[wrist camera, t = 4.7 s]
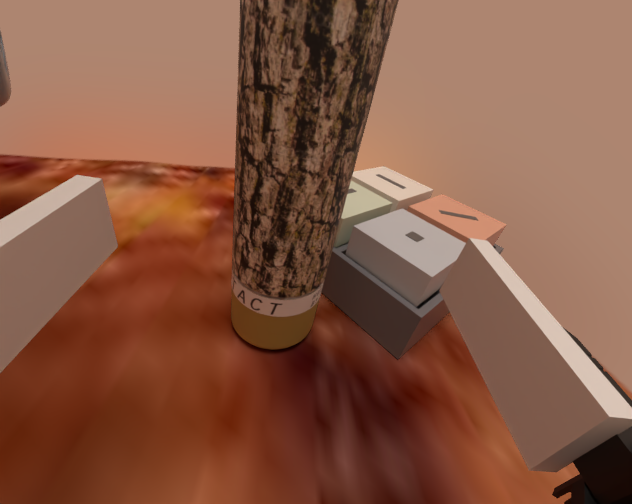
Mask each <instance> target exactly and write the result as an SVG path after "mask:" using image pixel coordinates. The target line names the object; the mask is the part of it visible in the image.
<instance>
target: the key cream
mask: <svg viewBox="0 0 632 504" xmlns="http://www.w3.org/2000/svg"><path fill="white" fill-rule="evenodd" d="M351 181H353V182H355V183H357V184H359V185H361V186H362V187H364V188H366V189H368V190H370V191H372V192H373V193H375V194H377V195H379V196H381V197H382V198H384V199H386V200H388V201H390V202H392V206H391V209H390V212H389V213H391V212H394V211H396V210H399V209H402V208H403V209H404V210H406V211H407V209H408V207H409V206H410V205H413V204H416V203H419V202H422V201H425V200H427V199H430V197H431V195H432V192H433V189H431V188H429V187H426V186H424V185H422V184H420V183H418V182H416V181H414V180H412V179H409V178H407V177H405V176H403V175H401V174H399V173H397V172H395V171H393V170H391V169H389V168H387V167H384V166H383V167H377V168H372V169H366V170H360V171H355V172H353V175H352V178H351Z"/></svg>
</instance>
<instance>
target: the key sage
mask: <svg viewBox="0 0 632 504" xmlns="http://www.w3.org/2000/svg"><path fill="white" fill-rule="evenodd" d="M391 206H392V202H390V201H388V200H386V199H384V198H382V197H381V196H379V195H377V194H375V193H373V192H372V191H370V190H368V189H366V188H364V187H362V186H361V185H359V184H357V183H355V182H353V181H351V182H350V186H349V190H348V193H347V197H346V201H345V205H344V209H343V212H342V216H341V220H340V224H339V228H338V231H337V235H336V239H335V243H334V247H335V248H336V247H338V246H341V245H343V244H346V243H348V242H349V239H350V236H351V233H352V229H353V226H354V225H357V224H360V223H363V222H365V221H368V220H371V219H374V218H377V217H380V216H382V215H385V214H388V213H389V212H390V209H391Z"/></svg>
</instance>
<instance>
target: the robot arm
mask: <svg viewBox="0 0 632 504" xmlns="http://www.w3.org/2000/svg"><path fill="white" fill-rule="evenodd" d="M10 95H11V84H10V78H9V72H8V66H7V61H6V56H5V51H4V46H3V41H2V36H1V31H0V106H2V105H4V104H5V103H6V102H7V101H8V100H9V98H10ZM117 247H118V244H117V240H116V236H115V232H114V227H113V223H112V219H111V215H110V211H109V206H108V202H107V198H106V194H105V189H104V185H103V181H102V179H100V178H93V177H87V176H81V175H76V176H74V177H73V178H71V179H69V180H68V181H66V182H64V183H62V184H61V185H59V186H57V187H56V188H54V189H52V190H50V191H49V192H47V193H45V194H44V195H42V196H40V197H38V198H37V199H35V200H33V201H32V202H30V203H28V204H26V205H25V206H23V207H21V208H20V209H18V210H16V211H14V212H13V213H11V214H9V215H8V216H6V217H4V218H2V219H1V220H0V373H1V372H2V371H3V370H4V369H5V367H6V366H7V365H8V364H9V363H10V362H11V361H12V360H13V359H14V358H15V357H16V356H17V355H18V353H19V352H20V351H21V350H22V349H23V348H24V347H25V346H26V345H27V344H28V343H29V342H30V341H31V340H32V338H33V337H34V336H35V335H36V334H37V333H38V332H39V331H40V330H41V329H42V328H43V327H44V326H45V324H46V323H47V322H48V321H49V320H50V319H51V318H52V317H53V316H54V315H55V314H56V313H57V312H58V311H59V309H60V308H61V307H62V306H63V305H64V304H65V303H66V302H67V301H68V300H69V299H70V298H71V297H72V295H73V294H74V293H75V292H76V291H77V290H78V289H79V288H80V287H81V286H82V285H83V284H84V283H85V282H86V280H87V279H88V278H89V277H90V276H91V275H92V274H93V273H94V272H95V271H96V270H97V269H98V268H99V266H100V265H101V264H102V263H103V262H104V261H105V260H106V259H107V258H108V257H109V256H110V255H111V254H112V253H113V251H114V250H115V249H116V248H117ZM439 291H440V293H441V295H442V297H443V299H444V301H445V303H446V305H447V307H448V309H449V311H450V313H451V315H452V317H453V319H454V321H455V323H456V325H457V327H458V329H459V331H460V333H461V335H462V337H463V339H464V341H465V343H466V345H467V347H468V349H469V351H470V353H471V355H472V357H473V359H474V361H475V363H476V365H477V367H478V369H479V371H480V373H481V375H482V377H483V379H484V381H485V383H486V385H487V387H488V389H489V391H490V393H491V395H492V397H493V399H494V401H495V403H496V405H497V407H498V409H499V411H500V413H501V415H502V417H503V419H504V421H505V423H506V425H507V427H508V429H509V431H510V433H511V435H512V437H513V439H514V441H515V443H516V445H517V447H518V449H519V451H520V453H521V455H522V457H523V459H524V461H525V463H526V465H527V467H528V469H529V470H531V471H546V472H557V471H559V470H561V469H562V468H564V467H566V466H567V465H569V464H570V463H572V462H573V463H574V464H575V466H576V468H577V469H578V471H579V473H580V474H579V475H577V476H575V477H574V478H572V479H570V480H568V481H567V482H565V483H563V484H561V485H559V486H558V487H556V488H555V489H554V492H553V494H552V495H553V496H555V497H556V498H559V497H560V496H562V495H564V494H566V493H568V492H571V498H570V499H568V500H567V501H565V502H564V504H632V400H631V399H630V398H629V397H628V396H627V394H626V393H625V392H624V391H623V390H622V389H621V388H620V386H619V385H618V384H617V383H616V382H615V381H614V380H613V379H612V377H611V376H610V375H609V374H608V373H607V372H604V371H603V367H602V366H601V365H600V364H599V363H598V361H597V360H596V359H595V358H592V357H591V354H590V352H589V351H588V350H587V349H586V348H585V347H584V346H583V344H582V343H581V342H580V341H579V340H578V339H577V338H576V337H575V336H573V335H572V334H571V333H570V332H568V331H567V330H566V329H565V328H563V327H562V326H561V325H560V324H559V323H558V322H557V320H556V319H555V318H554V317H553V316H552V315H551V314H550V312H549V311H548V310H547V309H546V308H545V307H544V305H543V304H542V303H541V302H540V301H539V300H538V298H537V297H536V296H535V295H534V294H533V293H532V292H531V290H530V289H529V288H528V287H527V286H526V285H525V283H524V282H523V281H522V280H521V279H520V278H519V277H518V275H517V274H516V273H515V272H514V271H513V270H512V268H511V267H510V266H509V265H508V264H507V263H506V261H505V260H504V259H503V258H502V257H501V256H500V254H499V253H498V252H497V251H496V250H495V249H494V248H493V246H492V245H491V244H490V243H489V242H488V241H486V240H480V239H474V238H469V239H468V241H467V243H466V244H465V246H464V248H463V250H462V251H461V253H460V255H459V257H458V258H457V260H456V262H455V264H454V265H453V267H452V269H451V271H450V272H449V274H448V276H447V278H446V279H445V281H444V283H443V285H442V286H441V288H440V290H439Z"/></svg>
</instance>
